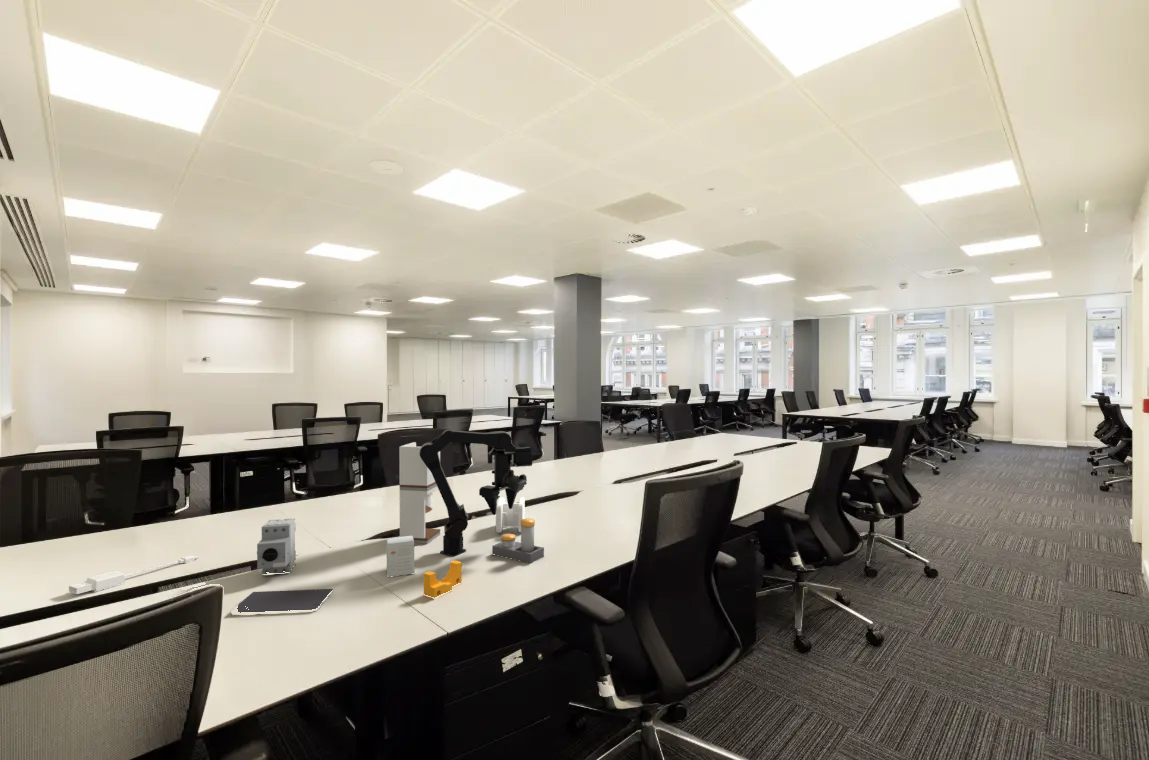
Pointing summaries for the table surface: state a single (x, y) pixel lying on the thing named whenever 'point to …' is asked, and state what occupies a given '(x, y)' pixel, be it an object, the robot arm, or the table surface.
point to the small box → (400, 556)
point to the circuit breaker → (277, 546)
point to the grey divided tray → (516, 550)
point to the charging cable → (114, 578)
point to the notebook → (283, 600)
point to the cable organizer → (509, 514)
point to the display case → (415, 495)
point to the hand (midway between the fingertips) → (502, 511)
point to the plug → (527, 535)
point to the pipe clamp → (443, 580)
